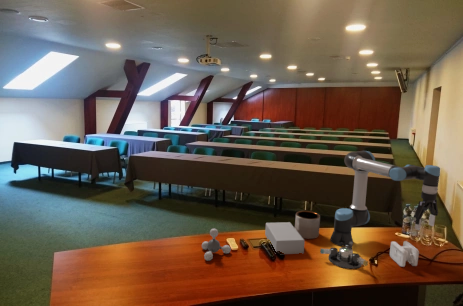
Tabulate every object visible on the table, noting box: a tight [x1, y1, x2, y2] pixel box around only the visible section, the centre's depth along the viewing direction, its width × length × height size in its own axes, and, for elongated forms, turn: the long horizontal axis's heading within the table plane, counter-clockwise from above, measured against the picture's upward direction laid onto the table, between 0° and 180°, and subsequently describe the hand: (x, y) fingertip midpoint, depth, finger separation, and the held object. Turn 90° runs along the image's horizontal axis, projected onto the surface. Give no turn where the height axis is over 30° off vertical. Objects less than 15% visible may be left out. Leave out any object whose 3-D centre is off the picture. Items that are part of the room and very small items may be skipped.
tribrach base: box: [328, 246, 363, 270], centre depth 202 cm, size 20×20×8 cm
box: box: [264, 221, 306, 255], centre depth 223 cm, size 19×30×10 cm, turn 8°
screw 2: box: [351, 252, 369, 267], centre depth 192 cm, size 10×4×6 cm, turn 28°
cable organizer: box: [389, 240, 420, 268], centre depth 201 cm, size 15×11×12 cm
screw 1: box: [344, 241, 354, 250], centre depth 210 cm, size 10×4×6 cm, turn 148°
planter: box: [294, 210, 321, 240], centre depth 238 cm, size 18×18×16 cm
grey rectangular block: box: [320, 247, 339, 260], centre depth 202 cm, size 10×4×6 cm, turn 88°
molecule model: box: [201, 228, 232, 262], centre depth 205 cm, size 20×16×20 cm
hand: (424, 227), depth 188 cm, fingers open, 13 cm apart
